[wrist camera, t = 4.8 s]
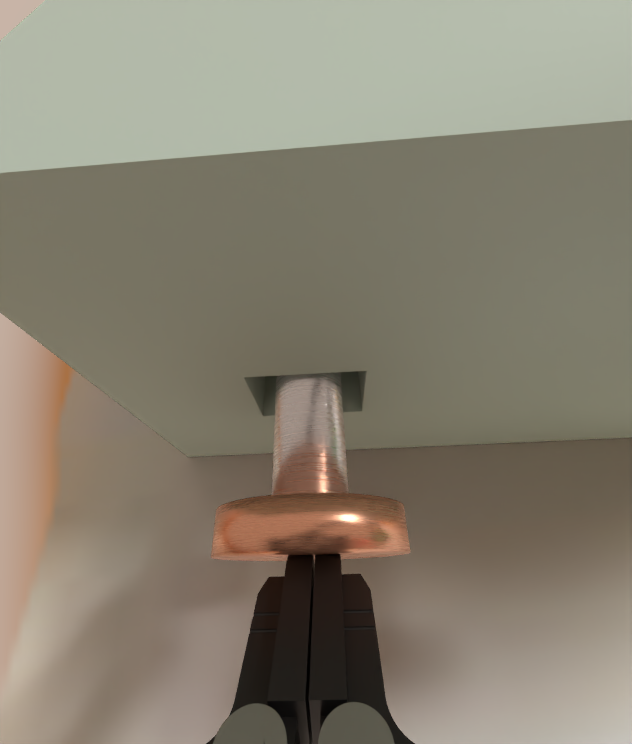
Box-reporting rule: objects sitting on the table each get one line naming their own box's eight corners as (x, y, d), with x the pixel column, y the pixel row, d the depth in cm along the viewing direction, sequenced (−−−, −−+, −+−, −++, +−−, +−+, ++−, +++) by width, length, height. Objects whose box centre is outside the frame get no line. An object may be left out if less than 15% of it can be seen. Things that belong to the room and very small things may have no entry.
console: (211, 311, 24) (54, -8, 11) (610, 285, 22) (971, -107, 10) (188, 457, 19) (-164, 186, 6) (700, 434, 17) (1722, 28, 5)
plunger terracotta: (260, 290, 19) (233, 194, 14) (362, 283, 19) (369, 184, 14) (240, 562, 13) (176, 553, 8) (396, 557, 12) (430, 545, 8)
